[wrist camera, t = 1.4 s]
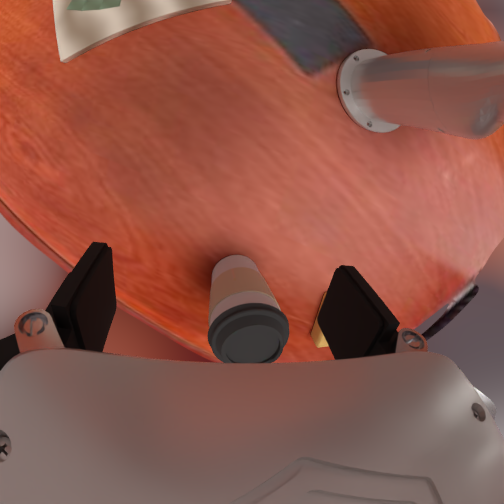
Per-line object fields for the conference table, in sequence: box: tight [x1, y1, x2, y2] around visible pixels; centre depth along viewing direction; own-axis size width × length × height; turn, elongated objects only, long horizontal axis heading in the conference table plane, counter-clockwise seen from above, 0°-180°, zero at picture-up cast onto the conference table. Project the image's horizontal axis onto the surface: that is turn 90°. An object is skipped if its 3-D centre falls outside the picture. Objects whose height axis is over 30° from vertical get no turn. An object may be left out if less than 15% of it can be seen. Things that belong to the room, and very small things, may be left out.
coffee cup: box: [208, 255, 289, 363], centre depth 34 cm, size 9×9×15 cm
